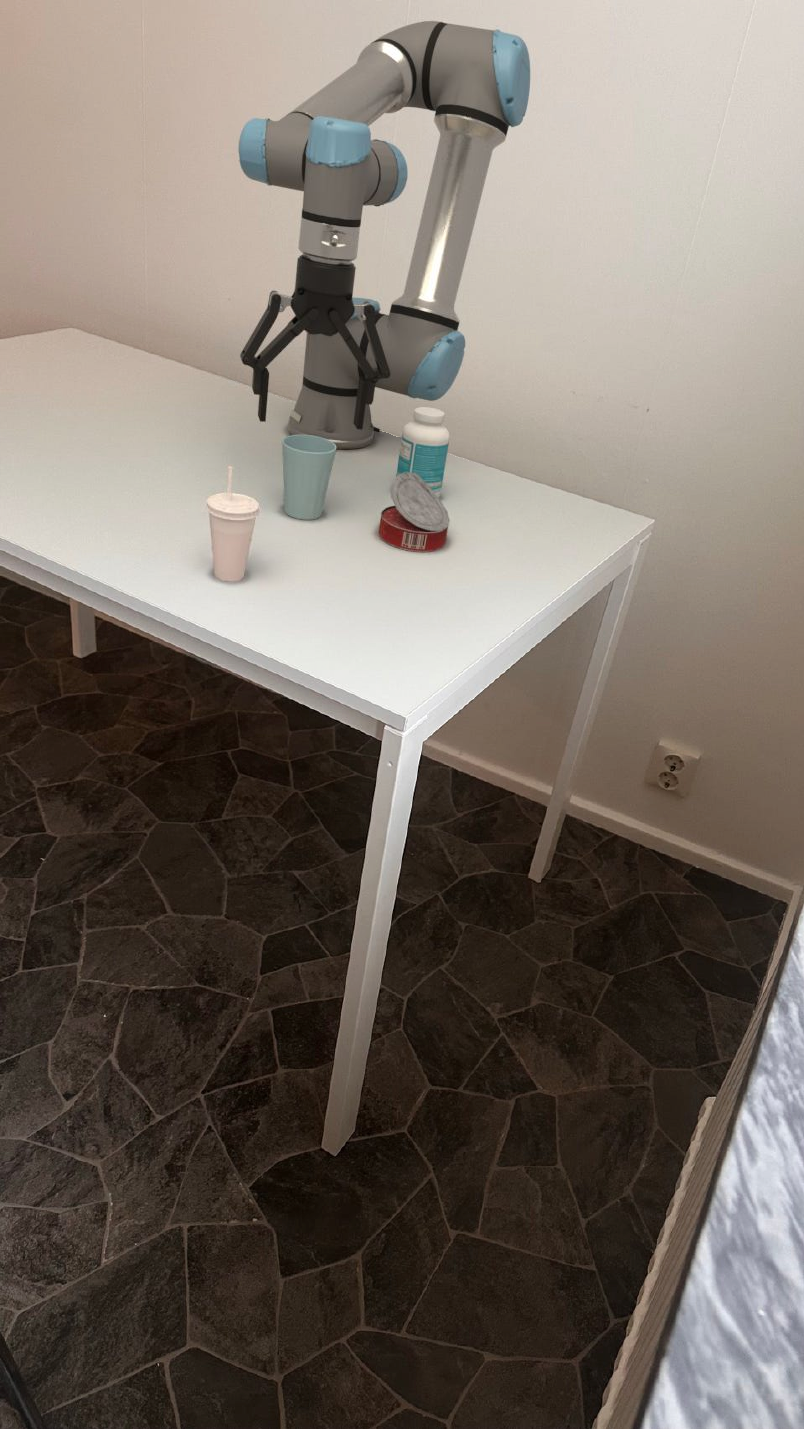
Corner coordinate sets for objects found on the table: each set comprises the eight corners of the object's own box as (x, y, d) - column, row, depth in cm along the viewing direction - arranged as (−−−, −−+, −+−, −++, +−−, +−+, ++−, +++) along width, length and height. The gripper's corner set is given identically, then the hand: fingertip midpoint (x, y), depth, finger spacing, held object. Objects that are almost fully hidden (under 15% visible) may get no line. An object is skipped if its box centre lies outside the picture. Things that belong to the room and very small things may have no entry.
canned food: (418, 554, 150) (456, 499, 147) (435, 577, 141) (475, 519, 139) (357, 517, 145) (395, 459, 142) (371, 538, 136) (411, 476, 134)
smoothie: (205, 561, 127) (210, 455, 119) (255, 566, 128) (263, 461, 120) (201, 583, 121) (205, 474, 114) (253, 588, 122) (261, 480, 115)
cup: (336, 522, 144) (344, 452, 138) (286, 524, 141) (292, 452, 135) (319, 502, 150) (325, 434, 144) (270, 503, 146) (275, 434, 141)
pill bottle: (446, 495, 160) (461, 412, 153) (428, 508, 154) (443, 422, 147) (405, 483, 162) (417, 400, 155) (385, 494, 156) (398, 409, 149)
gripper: (231, 250, 120) (222, 423, 131) (427, 275, 127) (402, 438, 138) (226, 240, 126) (217, 407, 137) (413, 265, 133) (390, 421, 144)
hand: (310, 422), depth 138 cm, fingers open, 13 cm apart
